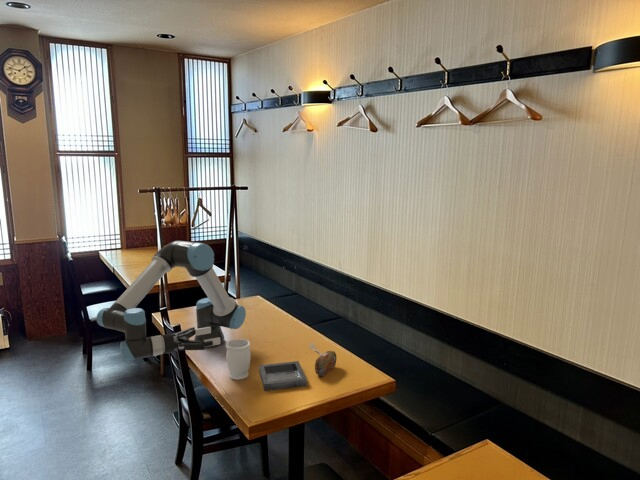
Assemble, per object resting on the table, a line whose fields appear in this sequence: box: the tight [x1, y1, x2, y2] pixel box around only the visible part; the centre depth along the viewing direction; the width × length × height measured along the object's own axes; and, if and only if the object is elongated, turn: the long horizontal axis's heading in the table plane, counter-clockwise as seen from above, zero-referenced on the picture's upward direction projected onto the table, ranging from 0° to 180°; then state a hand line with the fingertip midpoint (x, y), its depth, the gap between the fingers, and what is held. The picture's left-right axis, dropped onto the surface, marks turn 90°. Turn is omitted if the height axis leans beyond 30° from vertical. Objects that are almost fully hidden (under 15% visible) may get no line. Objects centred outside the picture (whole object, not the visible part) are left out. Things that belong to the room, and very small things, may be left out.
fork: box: [308, 342, 323, 356], centre depth 223 cm, size 3×24×2 cm, turn 24°
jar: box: [225, 338, 252, 381], centre depth 200 cm, size 11×10×15 cm
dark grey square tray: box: [258, 360, 308, 392], centre depth 198 cm, size 18×18×3 cm
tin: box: [314, 350, 337, 377], centre depth 205 cm, size 15×3×8 cm, turn 148°
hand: (215, 335), depth 193 cm, fingers open, 13 cm apart
